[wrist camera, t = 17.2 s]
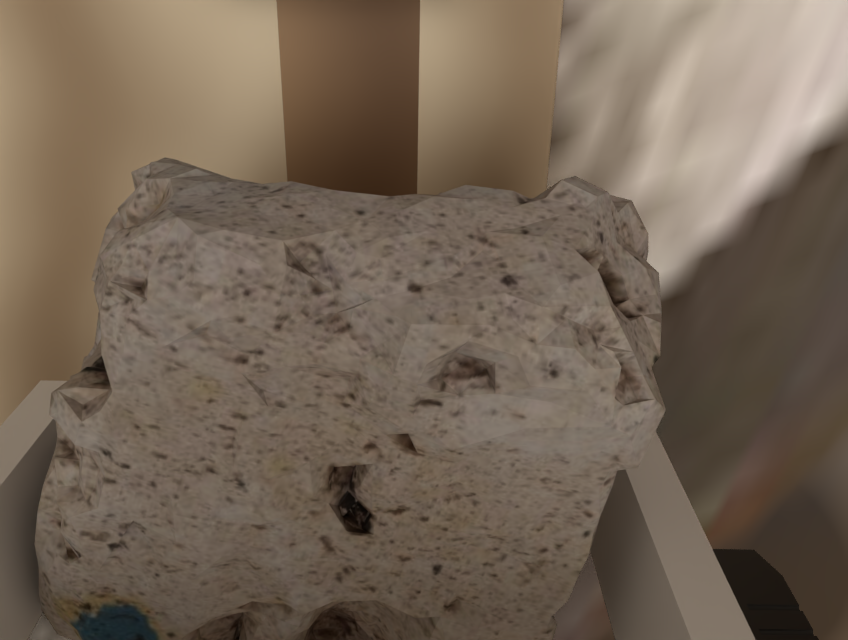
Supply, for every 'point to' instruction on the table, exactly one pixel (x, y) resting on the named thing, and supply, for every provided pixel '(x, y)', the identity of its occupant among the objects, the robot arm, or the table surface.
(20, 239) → the subfloor panel
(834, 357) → the table surface
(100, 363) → the stone
